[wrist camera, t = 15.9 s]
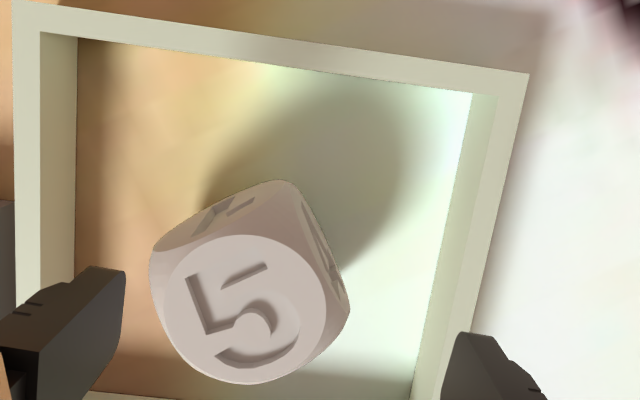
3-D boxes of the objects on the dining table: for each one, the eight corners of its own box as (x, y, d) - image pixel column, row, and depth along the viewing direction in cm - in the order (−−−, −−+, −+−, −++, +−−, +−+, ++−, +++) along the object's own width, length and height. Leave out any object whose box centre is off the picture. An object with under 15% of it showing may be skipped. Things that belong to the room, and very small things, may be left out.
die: (290, 166, 18) (284, 200, 14) (345, 278, 20) (358, 347, 15) (172, 222, 19) (125, 274, 14) (233, 328, 20) (210, 410, 15)
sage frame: (499, 73, 18) (530, 73, 15) (418, 440, 22) (433, 487, 19) (54, 9, 17) (11, -2, 14) (52, 403, 21) (18, 447, 18)
